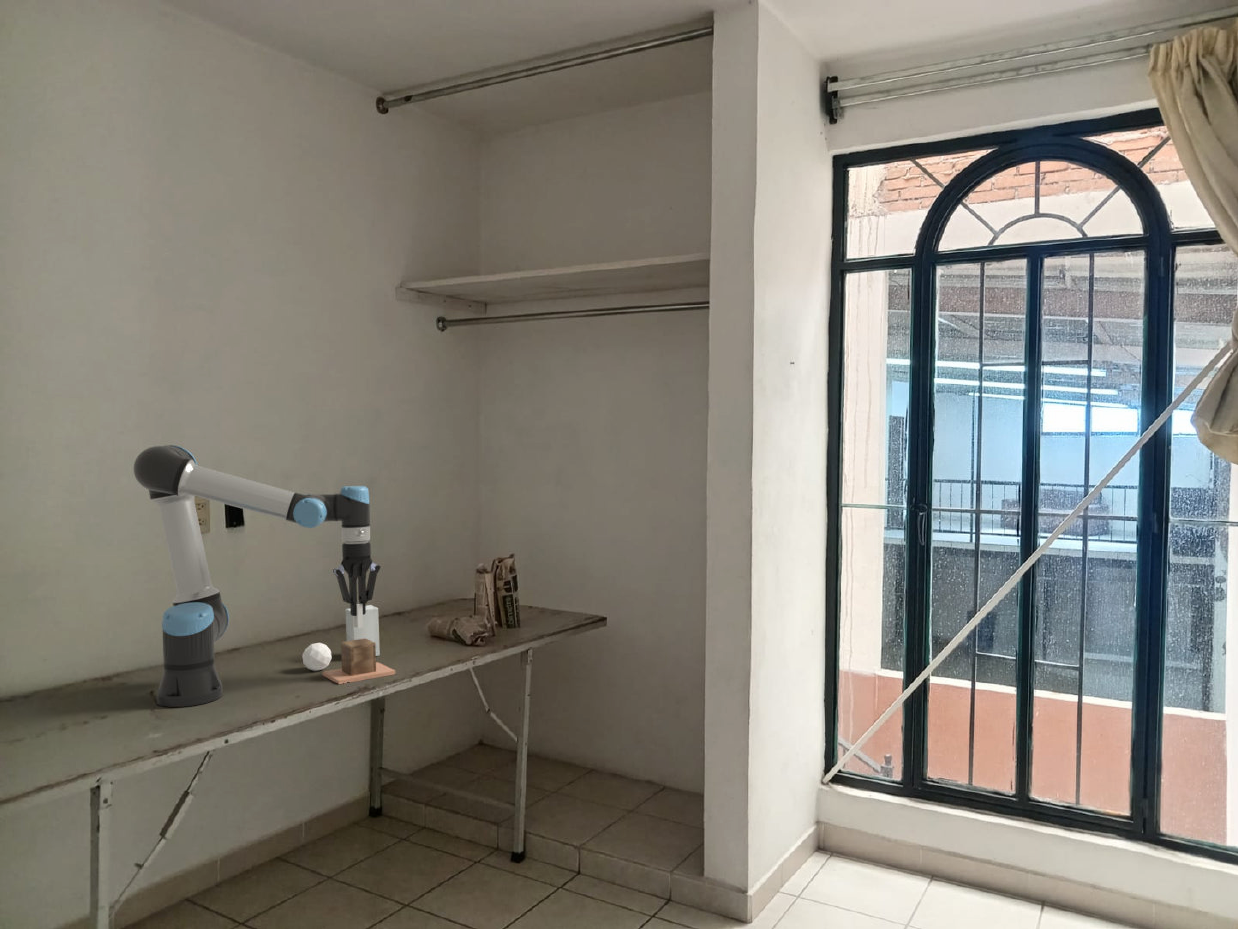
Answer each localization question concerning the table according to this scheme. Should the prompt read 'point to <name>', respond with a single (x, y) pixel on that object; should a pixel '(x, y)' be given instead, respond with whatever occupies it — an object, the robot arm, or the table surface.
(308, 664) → the ball
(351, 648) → the cardboard carton
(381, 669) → the base plate
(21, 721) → the table surface
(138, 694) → the table surface
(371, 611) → the skincare box
